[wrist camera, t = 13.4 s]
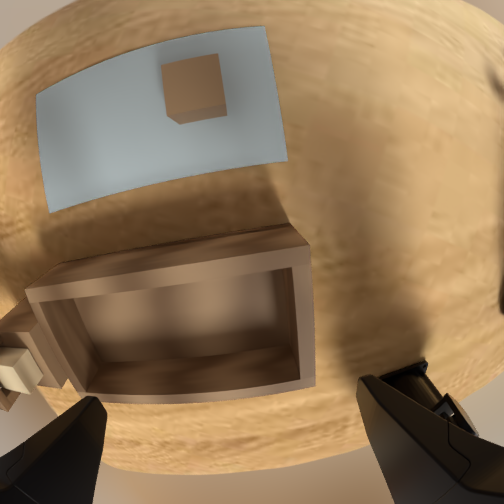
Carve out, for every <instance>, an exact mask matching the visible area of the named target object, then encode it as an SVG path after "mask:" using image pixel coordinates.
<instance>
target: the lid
mask: <svg viewBox="0 0 504 504" xmlns="http://www.w3.org/2000/svg"><path fill="white" fill-rule="evenodd" d="M36 119H37V135H38V146H39V155H40V163H41V170H42V177H43V183H44V189H45V194H46V199H47V204H48V209H49V213H52V212H55V211H58V210H61V209H65V208H68V207H71V206H74V205H77V204H80V203H84V202H87V201H91V200H94V199H97V198H101V197H105V196H108V195H112V194H116V193H119V192H123V191H127V190H131V189H135V188H139V187H143V186H147V185H152V184H156V183H160V182H165V181H169V180H174V179H179V178H184V177H189V176H194V175H199V174H204V173H210V172H216V171H221V170H227V169H233V168H240V167H246V166H253V165H260V164H268V163H275V162H284V161H288V157H287V150H286V143H285V136H284V129H283V123H282V117H281V111H280V104H279V99H278V93H277V87H276V81H275V76H274V71H273V65H272V60H271V55H270V50H269V45H268V40H267V35H266V30H265V26H256V27H244V28H235V29H227V30H219V31H213V32H207V33H201V34H196V35H191V36H186V37H181V38H177V39H173V40H168V41H165V42H161V43H157V44H153V45H150V46H147V47H143V48H140V49H137V50H134V51H131V52H128V53H125V54H122V55H119V56H116V57H114V58H111V59H108V60H106V61H103V62H101V63H98V64H96V65H94V66H91V67H89V68H87V69H84V70H82V71H80V72H78V73H76V74H74V75H72V76H70V77H67V78H65V79H64V80H62V81H60V82H58V83H56V84H54V85H52V86H50V87H48V88H47V89H45V90H43V91H41V92H40V93H38V94H36Z"/></svg>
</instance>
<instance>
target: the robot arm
mask: <svg viewBox="0 0 504 504" xmlns="http://www.w3.org/2000/svg"><path fill="white" fill-rule="evenodd" d="M427 367H428V362H427V361H422V362H420V363H417V364H415V365H412V366H409V367H407V368H404V369H401V370H399V371H396V372H393V373H390V374H387V375H384V376H381V377H379V378H377V377H375V376H374V375H371V374H369V375H365V376H361V377H360V378H359V380H358V386H357V392H356V398H357V402H358V405H359V409H360V412H361V416H362V419H363V423H364V426H365V430H366V433H367V436H368V439H369V442H370V444H371V446H372V449H373V451H374V453H375V456H376V458H377V460H378V463H379V465H380V468H381V470H382V473H383V475H384V478H385V480H386V483H387V485H388V488H389V490H390V493H391V495H392V498H393V500H394V503H395V504H504V447H502V446H499V445H497V444H494V443H491V442H489V441H486V440H484V439H481V438H479V437H478V436H479V434H478V432H477V430H476V428H475V427H474V425H473V423H472V421H471V420H470V418H469V416H468V415H467V413H466V412H465V411H464V409H463V408H462V407H461V406H460V405H459V403H458V402H457V401H456V400H455V399H454V398H453V397H451V396H450V395H449V394H448V393H446V394H445V395H444V396H442V395H441V394H440V392H439V391H438V390H437V388H436V387H435V386H434V384H433V383H432V382H431V380H430V379H429V378H428V377H427V375H426V374H425V373H426V370H427ZM453 413H454V415H453V416H451V414H453ZM106 423H107V412H106V410H105V408H104V406H103V405H102V403H101V402H100V400H99V399H98V398H97V397H96V396H85V397H84V398H83V399H81V400H80V401H79V402H77V403H76V404H75V405H73V406H72V407H71V408H69V409H68V410H67V411H65V412H64V413H63V414H61V415H60V416H59V417H57V418H56V419H54V420H53V421H52V422H50V423H49V424H48V425H46V426H45V427H44V428H42V429H41V430H39V431H38V432H37V433H35V434H34V435H33V436H31V437H30V438H28V439H27V440H26V441H25V442H23V443H22V444H20V445H19V446H17V447H16V448H15V449H13V450H11V451H10V452H8V453H7V454H5V455H3V456H2V457H0V504H92V503H93V497H94V490H95V485H96V480H97V474H98V470H99V465H100V461H101V456H102V452H103V445H104V437H105V430H106Z"/></svg>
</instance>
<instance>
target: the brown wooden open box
mask: <svg viewBox="0 0 504 504" xmlns="http://www.w3.org/2000/svg"><path fill="white" fill-rule="evenodd" d="M24 290H25V293H26V295H27V297H26V298H25V299H24V300H22V301H21V302H20V303H19V304H18V305H17V306H15V307H14V308H13V309H12V310H11V311H10V312H9V313H7V314H6V315H5V316H4V317H3V318H2V319H1V320H0V347H9V348H23V349H28V350H29V352H30V354H31V355H32V357H33V359H34V361H35V362H36V364H37V366H38V367H39V369H40V371H41V372H42V374H43V377H42V378H41V380H40V381H39V383H38V384H37V385H39V386H45V387H52V388H59V389H62V387H63V385H64V384H65V382H66V380H67V379H69V380H70V382H71V383H72V385H73V386H74V388H75V390H76V391H77V393H78V394H79V396H80V397H81V398H82V399H83V398H84V397H85V396H96V397H97V398H98V399H99V400H100V402H108V403H126V404H184V403H202V402H215V401H226V400H236V399H244V398H252V397H259V396H266V395H272V394H278V393H284V392H289V391H294V390H299V389H304V388H309V387H314V386H315V327H314V303H313V284H312V268H311V254H310V245H309V244H308V242H307V241H306V240H305V239H304V238H303V237H302V236H301V235H300V233H299V232H298V231H297V230H296V229H295V228H294V227H293V226H292V225H291V224H290V223H287V224H280V225H274V226H267V227H261V228H254V229H248V230H241V231H235V232H229V233H223V234H216V235H210V236H204V237H198V238H192V239H187V240H181V241H175V242H169V243H163V244H158V245H152V246H147V247H141V248H136V249H130V250H125V251H119V252H114V253H109V254H104V255H98V256H93V257H88V258H83V259H78V260H73V261H68V262H63V263H59V264H58V265H56V266H55V267H54V268H52V269H51V270H49V271H48V272H47V273H45V274H44V275H43V276H41V277H40V278H39V279H37V280H36V281H35V282H33V283H32V284H31V285H29V286H28V287H27V288H26V289H24ZM20 393H21V392H17V391H13V390H9V389H6V388H1V389H0V409H1V410H4V411H7V412H8V411H9V410H10V408H11V407H12V405H13V404H14V402H15V401H16V399H17V398H18V396H19V395H20Z"/></svg>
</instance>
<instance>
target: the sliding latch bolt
mask: <svg viewBox="0 0 504 504" xmlns="http://www.w3.org/2000/svg"><path fill="white" fill-rule="evenodd" d="M42 377H43V374H42V372H41V371H40V369H39V367H38V366H37V364H36V362H35V361H34V359H33V357H32V355H31V354H30V352H29V350H28V349H23V348H9V347H0V387H2V388H6V389H9V390H13V391H17V392H22V393H26V394H31V393H32V392H33V390H34V388H35V387H36V386H37V384H38V383H39V381H40V380H41V378H42Z"/></svg>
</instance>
